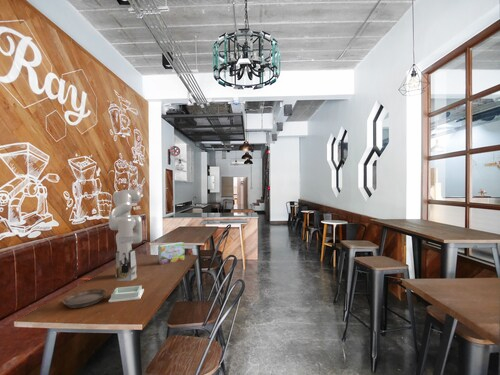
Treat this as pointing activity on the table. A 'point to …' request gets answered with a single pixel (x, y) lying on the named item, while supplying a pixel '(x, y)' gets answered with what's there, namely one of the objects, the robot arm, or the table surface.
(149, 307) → the table surface
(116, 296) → the stand
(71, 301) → the plant saucer
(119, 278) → the coffee box
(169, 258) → the snack box
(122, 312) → the table surface
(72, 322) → the table surface
